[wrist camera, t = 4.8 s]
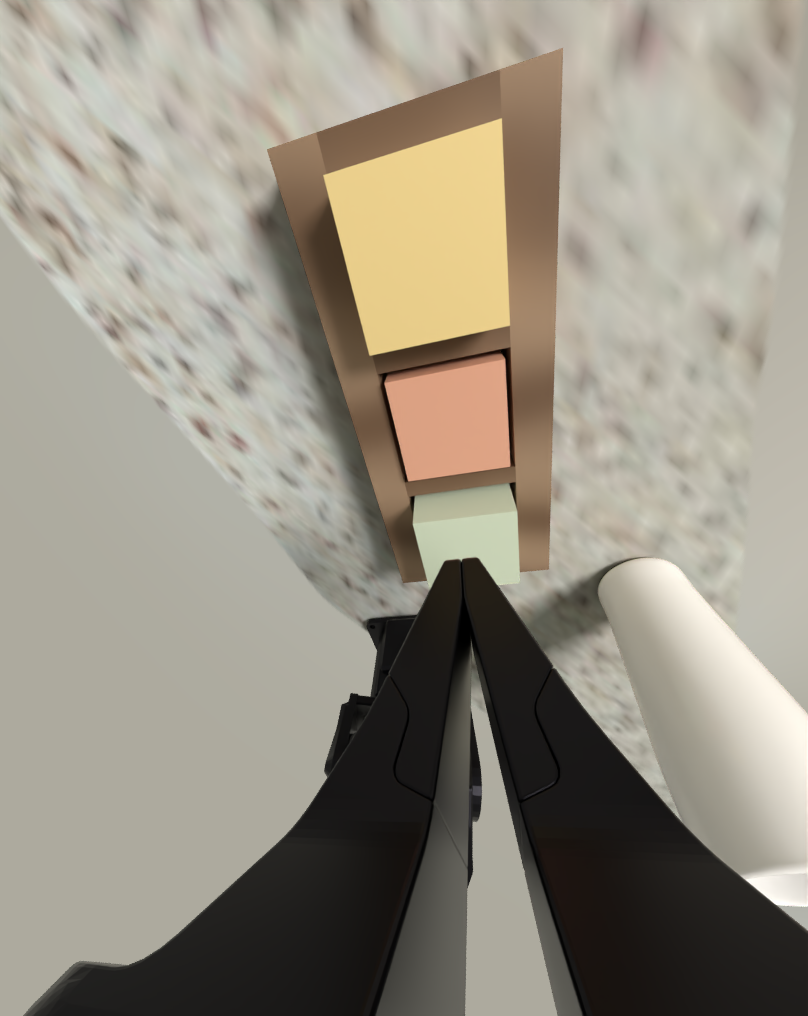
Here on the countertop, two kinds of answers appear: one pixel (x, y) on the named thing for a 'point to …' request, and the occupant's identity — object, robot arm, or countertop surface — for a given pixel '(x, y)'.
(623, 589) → the white tall cylinder
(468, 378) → the terracotta key
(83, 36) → the countertop surface
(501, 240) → the ochre key
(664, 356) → the countertop surface
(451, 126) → the brown wooden slotted tray
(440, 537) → the sage key
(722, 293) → the countertop surface
